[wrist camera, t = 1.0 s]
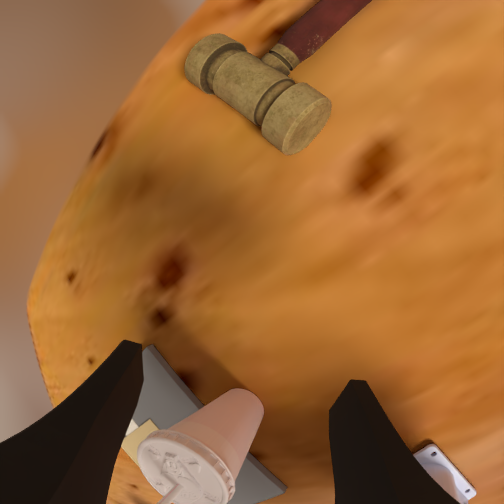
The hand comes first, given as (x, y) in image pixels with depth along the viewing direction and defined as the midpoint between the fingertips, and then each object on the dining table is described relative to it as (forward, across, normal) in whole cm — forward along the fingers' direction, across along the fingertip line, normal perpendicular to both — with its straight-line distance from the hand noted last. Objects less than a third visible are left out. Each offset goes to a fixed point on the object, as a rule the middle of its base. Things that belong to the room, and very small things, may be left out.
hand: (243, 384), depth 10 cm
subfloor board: (+7, +3, +22) cm, 23 cm away
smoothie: (+8, -2, +14) cm, 16 cm away
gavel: (+19, -3, -15) cm, 24 cm away
